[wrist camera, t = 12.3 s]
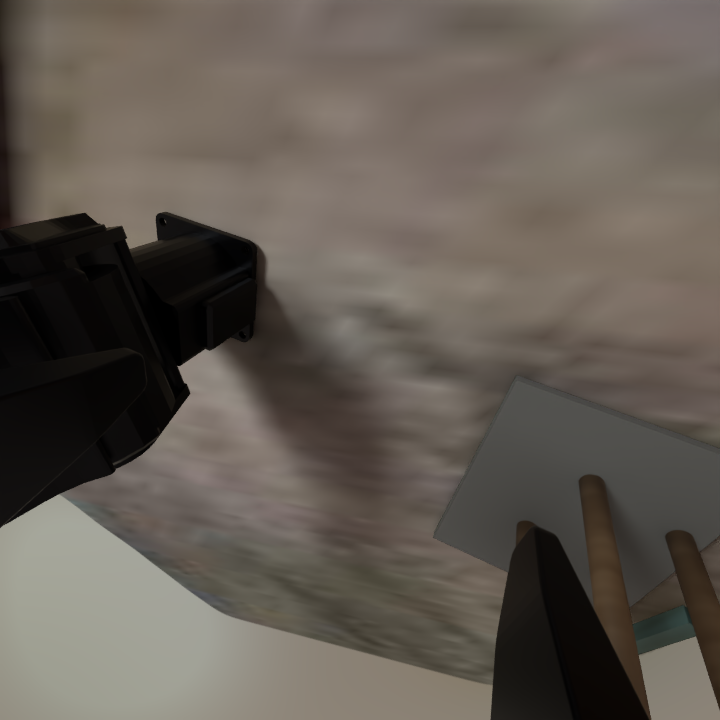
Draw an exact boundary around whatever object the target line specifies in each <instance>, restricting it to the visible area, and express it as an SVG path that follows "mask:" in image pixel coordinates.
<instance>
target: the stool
mask: <svg viewBox="0 0 720 720" xmlns="http://www.w3.org/2000/svg"><path fill="white" fill-rule="evenodd" d="M579 490H580V498H581V506H582V514H583V522H584V530H585V538H586V547H587V555H588V563H589V571H590V579H591V587H592V595H593V603H594V610H595V612H596V614H597V616H598V618H599V620H600V622H601V624H602V626H603V628H604V630H605V632H606V634H607V636H608V638H609V639H610V641H611V643H612V645H613V647H614V649H615V651H616V653H617V655H618V657H619V659H620V661H621V663H622V665H623V667H624V669H625V671H626V673H627V675H628V677H629V679H630V681H631V683H632V685H633V687H634V689H635V691H636V693H637V695H638V697H639V699H640V701H641V703H642V705H643V707H644V709H645V711H646V713H647V715H648V717H649V719H650V720H651V716H650V711H649V706H648V700H647V695H646V690H645V685H644V681H643V675H642V670H641V665H640V660H639V654H642V653H645V652H648V651H651V650H654V649H658V648H661V647H664V646H667V645H670V644H673V643H676V642H679V641H682V640H685V639H689V638H692V637H695V636H696V637H697V640H698V643H699V646H700V649H701V653H702V656H703V659H704V662H705V665H706V668H707V671H708V675H709V678H710V681H711V684H712V687H713V690H714V694H715V697H716V699H717V703H718V706H719V709H720V604H719V602H718V599H717V597H716V594H715V591H714V589H713V586H712V584H711V581H710V579H709V576H708V573H707V571H706V568H705V566H704V563H703V560H702V558H701V555H700V553H699V550H698V548H697V545H696V542H695V540H694V537H693V536H692V535H691V534H690V533H689V532H686V531H683V530H673V531H670V532H668V533H667V534H666V535H665V539H666V542H667V545H668V549H669V552H670V555H671V558H672V561H673V564H674V568H675V571H676V574H677V577H678V580H679V583H680V586H681V590H682V593H683V596H684V599H685V602H686V605H687V607H685V606H684V605H682V606H680V607H677V608H674V609H672V610H669V611H667V612H664V613H661V614H659V615H656V616H653V617H651V618H648V619H646V620H643V621H640V622H638V623H635V624H632V619H631V614H630V609H629V604H628V599H627V594H626V589H625V584H624V579H623V573H622V568H621V563H620V558H619V553H618V548H617V543H616V538H615V533H614V528H613V523H612V518H611V513H610V507H609V502H608V497H607V492H606V487H605V482H604V480H603V479H602V478H601V477H599V476H597V475H592V474H588V475H584V476H582V477H581V478H580V479H579ZM532 526H537V525H536V524H534V523H533V522H530V521H525V520H524V521H520V522H518V523H517V527H516V546H517V544H518V543H519V542H520V540H521V539H522V538H523V536H524V535H525V534H526V532H527V531H528V530H529V529H530V528H531V527H532Z"/></svg>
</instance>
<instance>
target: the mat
mask: <svg viewBox="0 0 720 720" xmlns="http://www.w3.org/2000/svg"><path fill="white" fill-rule="evenodd" d="M588 474H592V475H597V476H599V477H601V478H602V479H603V480H604V482H605V487H606V492H607V497H608V502H609V507H610V513H611V518H612V523H613V528H614V533H615V538H616V543H617V548H618V553H619V558H620V563H621V568H622V573H623V579H624V584H625V589H626V594H627V599H628V604H629V608H630V607H631V606H633V605H634V604H635V603H636V602H638V601H639V600H640V599H641V598H643V597H644V596H645V595H646V594H648V593H649V592H650V591H651V590H653V589H654V588H655V587H656V586H658V585H659V584H660V583H661V582H663V581H664V580H665V579H666V578H668V577H669V576H670V575H671V574H673V573H674V572H675V568H674V564H673V561H672V558H671V555H670V552H669V549H668V545H667V542H666V539H665V535H666V534H667V533H668V532H670V531H673V530H683V531H686V532H689V533H690V534H691V535H692V536H693V537H694V540H695V542H696V545H697V548H698V550H699V552H700V551H701V550H702V549H704V548H705V547H706V546H707V545H709V544H710V543H711V542H712V541H714V540H715V539H716V538H717V537H719V536H720V449H719V448H717V447H714V446H711V445H708V444H706V443H703V442H700V441H697V440H695V439H692V438H689V437H686V436H684V435H681V434H678V433H675V432H672V431H670V430H667V429H664V428H661V427H659V426H656V425H653V424H650V423H648V422H645V421H642V420H639V419H637V418H634V417H631V416H628V415H626V414H623V413H620V412H617V411H614V410H612V409H609V408H606V407H603V406H601V405H598V404H595V403H592V402H590V401H587V400H584V399H581V398H579V397H576V396H573V395H570V394H568V393H565V392H562V391H559V390H556V389H554V388H551V387H548V386H545V385H543V384H540V383H537V382H534V381H532V380H529V379H526V378H523V377H521V376H518V375H516V377H515V379H514V381H513V383H512V385H511V387H510V389H509V391H508V392H507V394H506V396H505V398H504V400H503V402H502V404H501V406H500V408H499V410H498V412H497V413H496V415H495V417H494V419H493V421H492V423H491V425H490V427H489V429H488V431H487V433H486V434H485V436H484V438H483V440H482V442H481V444H480V446H479V448H478V450H477V452H476V454H475V455H474V457H473V459H472V461H471V463H470V465H469V467H468V469H467V471H466V473H465V475H464V476H463V478H462V480H461V482H460V484H459V486H458V488H457V490H456V492H455V494H454V495H453V497H452V499H451V501H450V503H449V505H448V507H447V509H446V511H445V513H444V515H443V516H442V518H441V520H440V522H439V524H438V526H437V528H436V530H435V532H434V536H433V538H435V539H437V540H439V541H441V542H444V543H446V544H448V545H450V546H452V547H454V548H457V549H459V550H461V551H463V552H465V553H467V554H470V555H472V556H474V557H476V558H478V559H480V560H483V561H485V562H487V563H489V564H491V565H493V566H496V567H498V568H500V569H502V570H504V571H506V572H508V571H509V565H510V560H511V556H512V553H513V551H514V549H515V547H516V527H517V523H518V522H520V521H524V520H525V521H530V522H533V523H534V524H536V525H537V526H539V527H541V528H543V529H545V530H548V531H550V532H552V533H554V534H555V535H556V536H557V537H558V538H559V540H560V542H561V544H562V546H563V548H564V550H565V552H566V554H567V556H568V558H569V560H570V562H571V564H572V566H573V568H574V570H575V572H576V574H577V576H578V578H579V580H580V582H581V584H582V586H583V588H584V590H585V592H586V594H587V596H588V598H589V600H590V602H591V604H592V606H593V608H594V603H593V595H592V587H591V579H590V571H589V563H588V555H587V547H586V538H585V530H584V522H583V514H582V506H581V498H580V490H579V479H580V478H581V477H582V476H584V475H588Z"/></svg>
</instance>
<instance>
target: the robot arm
mask: <svg viewBox="0 0 720 720" xmlns="http://www.w3.org/2000/svg"><path fill="white" fill-rule="evenodd" d="M164 219H165V220H164ZM165 221H166V223H167V224H166V223H165ZM156 227H157V238H158V241H155V242H152V243H148V244H145V245H142V246H139V247H135V248H132V249H129V247H128V245H127V243H126V240H125V239H126V238H127V237H126V234H125V232H124V229H123V227H122V226H116V227H109V228H106V227H105V225H104V224H103V225H101V224H98V223H97V222H95V221H94V220H93V219H92V218H91V217H89V216H88V215H87V214H86V213H81V214H75V215H70V216H64V217H59V218H54V219H49V220H44V221H39V222H34V223H29V224H25V225H20V226H16V227H11V228H7V229H2V230H0V528H1V527H2V526H3V525H5V524H7V523H9V522H11V521H12V520H14V519H16V518H17V517H19V516H21V515H23V514H24V513H26V512H28V511H30V510H31V509H33V508H35V507H36V506H38V505H40V504H42V503H43V502H45V501H47V500H49V499H51V498H53V497H54V496H56V495H58V494H60V493H62V492H65V491H67V490H69V489H72V488H74V487H76V486H78V485H81V484H83V483H86V482H89V481H92V480H95V479H99V478H102V477H105V476H108V475H111V474H112V473H114V472H115V470H116V468H119V467H121V466H123V465H125V464H127V463H129V462H131V461H133V460H134V459H136V458H137V457H139V456H140V455H142V454H143V453H144V452H145V451H146V450H148V449H149V448H150V447H151V446H152V444H153V443H154V442H155V441H156V440H157V438H158V437H159V436H160V434H161V433H162V431H163V430H164V429H165V427H166V426H167V425H168V423H169V422H170V421H171V419H172V418H173V416H174V415H175V414H176V412H177V411H178V410H179V408H180V407H181V406H182V404H183V403H184V401H185V400H186V399H187V397H188V396H189V395H190V391H189V388H188V386H187V384H185V383H184V381H183V379H182V376H181V374H180V371H179V369H178V367H177V366H181V365H182V364H184V363H185V362H187V361H188V360H190V359H191V358H193V357H194V356H195V355H197V354H198V353H200V352H201V351H203V350H204V349H207V350H209V351H210V350H212V349H214V348H216V347H217V346H218V345H220V344H221V343H223V342H224V341H226V340H227V339H228V338H230V337H232V338H234V339H237V340H239V341H242V342H247V341H249V340H250V339H251V338H252V336H253V322H254V320H255V310H256V290H257V284H256V281H255V280H256V259H257V249H256V246H255V244H254V243H253V242H252V241H250V240H248V239H245V238H242V237H239V236H236V235H233V234H230V233H227V232H224V231H221V230H218V229H215V228H212V227H209V226H206V225H204V224H201V223H198V222H195V221H192V220H189V219H186V218H183V217H180V216H177V215H174V214H171V213H168V212H162V213H159V214H157V216H156ZM245 246H246V247H247V248H248V250H249V253H248V252H247V251H246V250H245ZM243 332H244V333H245V334H246V335H244V334H243ZM491 720H650V719H649V717H648V715H647V713H646V711H645V709H644V707H643V705H642V703H641V701H640V699H639V697H638V695H637V693H636V691H635V689H634V687H633V685H632V683H631V681H630V679H629V677H628V675H627V673H626V671H625V669H624V667H623V665H622V663H621V661H620V659H619V657H618V655H617V653H616V651H615V649H614V647H613V645H612V643H611V641H610V639H609V638H608V636H607V634H606V632H605V630H604V628H603V626H602V624H601V622H600V620H599V618H598V616H597V614H596V612H595V610H594V608H593V606H592V604H591V602H590V600H589V598H588V596H587V594H586V592H585V590H584V588H583V586H582V584H581V582H580V580H579V578H578V576H577V574H576V572H575V570H574V568H573V566H572V564H571V562H570V560H569V558H568V556H567V554H566V552H565V550H564V548H563V546H562V544H561V542H560V540H559V538H558V537H557V536H556V535H555V534H554V533H552V532H550V531H548V530H545V529H543V528H541V527H539V526H532V527H531V528H530V529H529V530H528V531H527V532H526V534H525V535H524V536H523V538H522V539H521V540H520V542H519V543H518V544H517V546H516V547H515V549H514V551H513V553H512V556H511V560H510V565H509V571H508V576H507V582H506V587H505V593H504V598H503V604H502V609H501V615H500V620H499V626H498V632H497V638H496V648H495V661H494V676H493V691H492V707H491Z"/></svg>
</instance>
